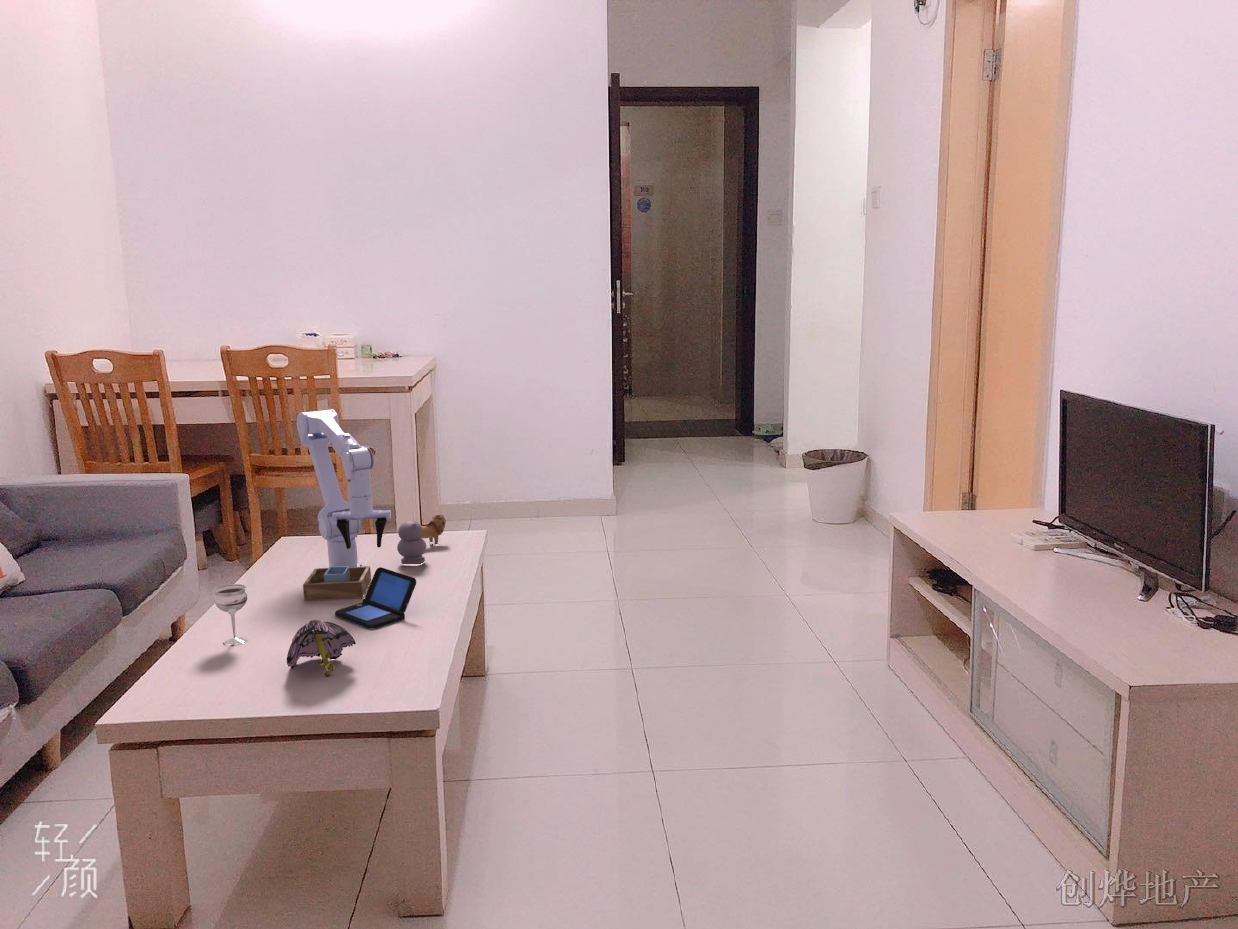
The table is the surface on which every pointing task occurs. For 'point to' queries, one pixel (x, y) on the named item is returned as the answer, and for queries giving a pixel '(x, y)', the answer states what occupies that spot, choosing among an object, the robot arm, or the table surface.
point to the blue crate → (337, 574)
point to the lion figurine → (434, 528)
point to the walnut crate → (337, 585)
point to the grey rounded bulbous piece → (411, 543)
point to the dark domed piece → (319, 643)
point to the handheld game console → (381, 600)
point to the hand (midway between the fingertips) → (364, 547)
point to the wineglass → (231, 604)
